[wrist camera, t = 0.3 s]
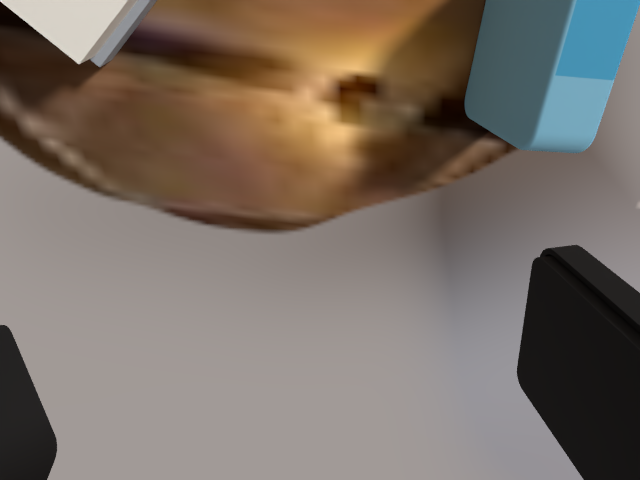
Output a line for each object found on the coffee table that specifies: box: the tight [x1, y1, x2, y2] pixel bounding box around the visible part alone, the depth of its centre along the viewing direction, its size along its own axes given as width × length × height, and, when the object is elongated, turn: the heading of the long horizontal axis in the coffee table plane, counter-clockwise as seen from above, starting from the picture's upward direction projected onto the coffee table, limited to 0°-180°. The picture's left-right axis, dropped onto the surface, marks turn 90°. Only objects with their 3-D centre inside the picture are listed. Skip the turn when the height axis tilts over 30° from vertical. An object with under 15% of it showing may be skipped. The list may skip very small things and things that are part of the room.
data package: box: [465, 0, 640, 153], centre depth 37 cm, size 12×4×12 cm, turn 174°
